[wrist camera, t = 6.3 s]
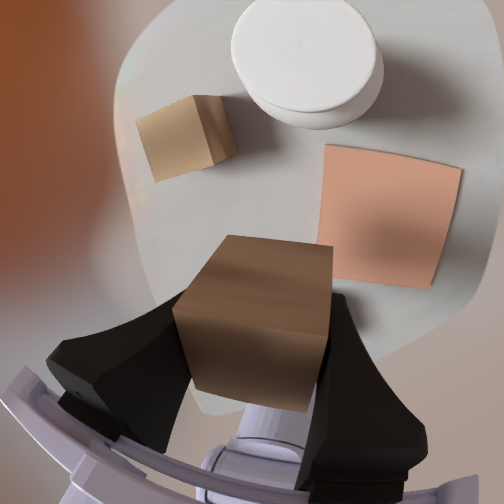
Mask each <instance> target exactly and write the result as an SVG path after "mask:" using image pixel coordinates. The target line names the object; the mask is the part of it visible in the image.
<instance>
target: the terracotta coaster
mask: <svg viewBox="0 0 504 504" xmlns="http://www.w3.org/2000/svg"><path fill="white" fill-rule="evenodd" d="M460 176H461V169H459V168H456V167H453V166H449V165H445V164H441V163H437V162H432V161H428V160H423V159H419V158H414V157H409V156H404V155H399V154H393V153H388V152H382V151H375V150H369V149H362V148H355V147H347V146H339V145H329V144H325V159H324V174H323V188H322V200H321V211H320V222H319V231H318V240H317V244H318V245H327V246H334V247H333V274H332V277H334V278H341V279H349V280H357V281H365V282H373V283H381V284H389V285H398V286H406V287H415V288H423V289H429V287H430V284H431V281H432V279H433V276H434V273H435V270H436V267H437V264H438V262H439V259H440V255H441V252H442V249H443V246H444V243H445V239H446V236H447V232H448V229H449V225H450V221H451V217H452V213H453V209H454V205H455V201H456V196H457V191H458V186H459V181H460Z"/></svg>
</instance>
